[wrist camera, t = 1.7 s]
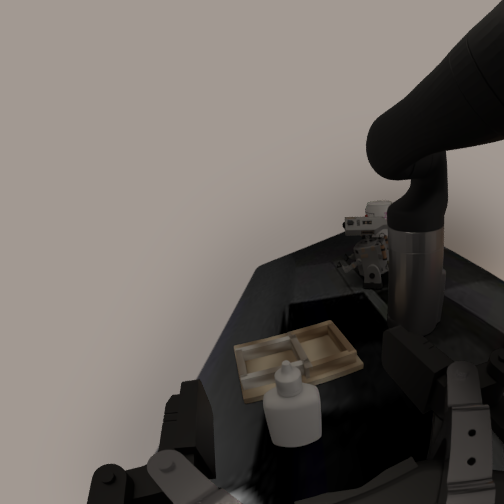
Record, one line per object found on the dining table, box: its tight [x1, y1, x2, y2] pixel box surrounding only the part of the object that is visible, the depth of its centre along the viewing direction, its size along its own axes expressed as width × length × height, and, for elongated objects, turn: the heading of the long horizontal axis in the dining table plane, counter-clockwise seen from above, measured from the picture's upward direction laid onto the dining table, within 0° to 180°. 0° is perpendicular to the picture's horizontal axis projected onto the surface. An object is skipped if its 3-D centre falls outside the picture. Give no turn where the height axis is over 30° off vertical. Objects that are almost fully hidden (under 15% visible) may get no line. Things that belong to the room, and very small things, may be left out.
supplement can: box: [365, 201, 392, 256], centre depth 70 cm, size 8×8×15 cm
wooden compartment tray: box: [234, 320, 363, 404], centre depth 40 cm, size 17×13×3 cm
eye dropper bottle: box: [263, 360, 322, 447], centre depth 25 cm, size 4×6×12 cm
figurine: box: [337, 215, 389, 290], centre depth 58 cm, size 9×12×15 cm
